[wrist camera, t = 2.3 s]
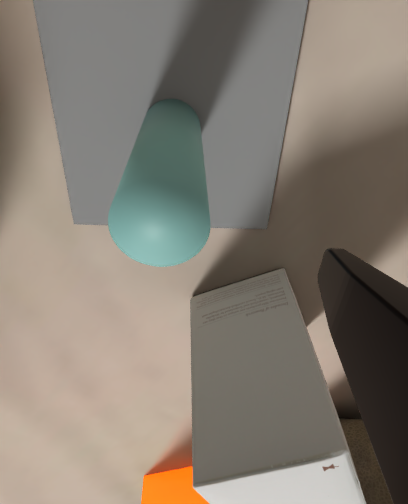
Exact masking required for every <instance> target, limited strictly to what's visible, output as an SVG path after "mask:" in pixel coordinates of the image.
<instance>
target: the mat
mask: <svg viewBox="0 0 408 504" xmlns="http://www.w3.org/2000/svg"><path fill="white" fill-rule="evenodd" d="M33 3H34V9H35V14H36V20H37V25H38V31H39V36H40V42H41V47H42V52H43V58H44V63H45V69H46V74H47V80H48V85H49V91H50V96H51V101H52V107H53V112H54V118H55V123H56V129H57V134H58V140H59V145H60V150H61V156H62V161H63V167H64V172H65V178H66V183H67V189H68V194H69V199H70V205H71V210H72V216H73V221H74V224H85V225H108V214H109V210H110V207H111V204H112V201H113V199H114V196H115V194H116V191H117V188H118V186H119V183H120V181H121V178H122V175H123V173H124V170H125V168H126V165H127V162H128V160H129V157H130V155H131V152H132V149H133V147H134V144H135V142H136V139H137V136H138V134H139V131H140V129H141V126H142V123H143V121H144V118H145V116H146V113H147V112H148V110H149V109H150V108H151V107H152V106H153V105H154V104H155V103H157V102H159V101H161V100H164V99H178V100H181V101H183V102H185V103H187V104H188V105H190V106H191V107H192V108H193V109H194V111H195V112H196V114H197V116H198V118H199V121H200V127H201V136H202V146H203V155H204V165H205V174H206V184H207V194H208V203H209V213H210V228H240V229H267V226H268V220H269V215H270V209H271V204H272V198H273V193H274V187H275V182H276V176H277V171H278V165H279V159H280V154H281V148H282V143H283V137H284V132H285V126H286V121H287V115H288V110H289V104H290V98H291V93H292V87H293V82H294V76H295V71H296V65H297V60H298V54H299V49H300V43H301V37H302V32H303V26H304V21H305V15H306V10H307V4H308V0H33Z"/></svg>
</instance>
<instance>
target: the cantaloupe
mask: <svg viewBox="0 0 408 504" xmlns="http://www.w3.org/2000/svg"><path fill="white" fill-rule="evenodd" d="M339 420H340V423H341V426H342V429H343V432H344V435H345V438H346V441H347V444H348V447H349V450H350V453H351V457H352V460H353V463H354V466H355V469H356V473H357V476H358V479H359V482H360V485H361V489H362V492H363V495H364V498H365V501H366V504H393V501H392V499H391V496H390V493H389V490H388V488H387V485H386V482H385V480H384V477H383V474H382V472H381V469H380V466H379V463H378V461H377V458H376V455H375V453H374V450H373V447H372V444H371V442H370V439H369V436H368V434H367V431H366V428H365V425H364V423H363V420H362V419H339Z"/></svg>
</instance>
